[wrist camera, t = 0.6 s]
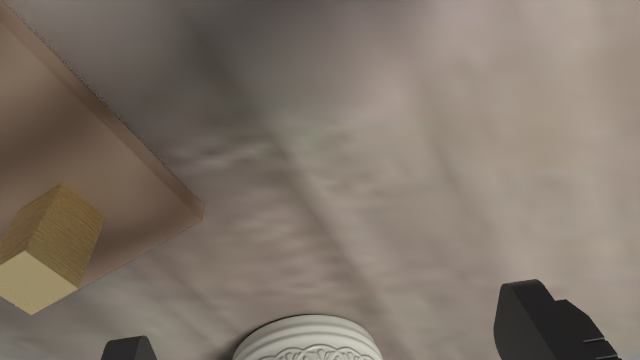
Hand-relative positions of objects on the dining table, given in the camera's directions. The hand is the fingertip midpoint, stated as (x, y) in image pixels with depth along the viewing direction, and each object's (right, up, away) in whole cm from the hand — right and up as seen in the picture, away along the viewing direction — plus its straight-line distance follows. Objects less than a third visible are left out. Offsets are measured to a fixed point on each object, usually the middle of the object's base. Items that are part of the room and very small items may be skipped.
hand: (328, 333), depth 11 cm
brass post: (-15, +2, +17) cm, 23 cm away
